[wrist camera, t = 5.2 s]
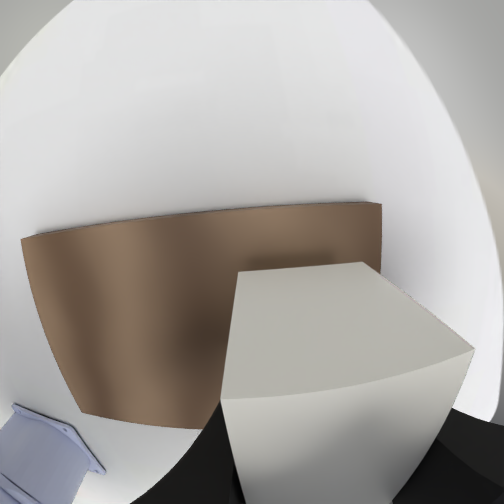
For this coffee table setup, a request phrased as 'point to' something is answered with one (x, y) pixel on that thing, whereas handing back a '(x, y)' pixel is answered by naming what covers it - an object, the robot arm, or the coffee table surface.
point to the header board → (173, 298)
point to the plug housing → (334, 384)
